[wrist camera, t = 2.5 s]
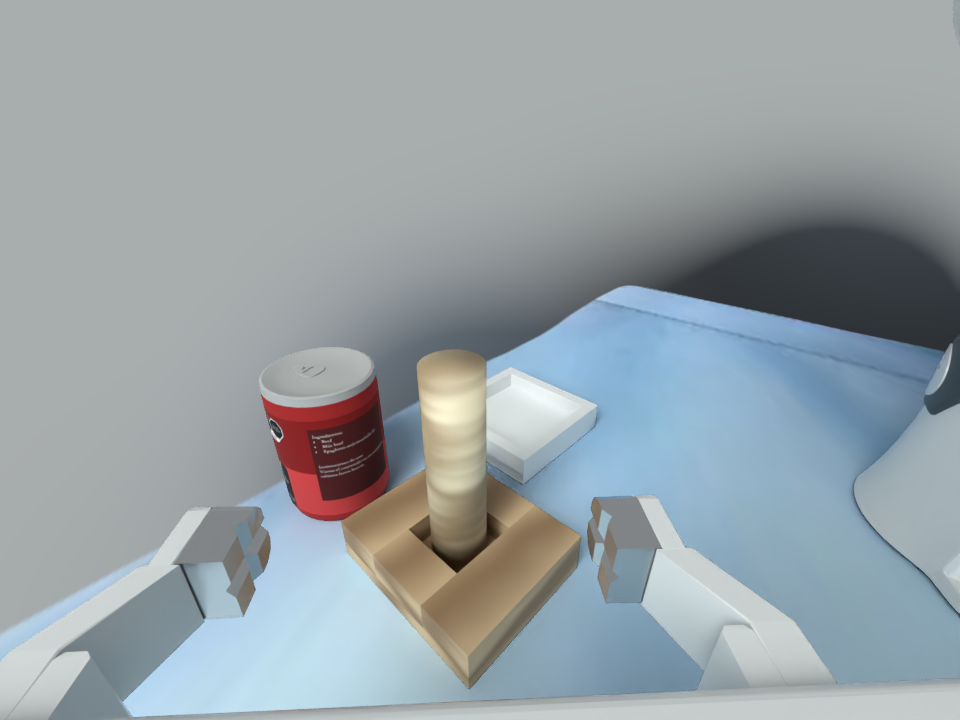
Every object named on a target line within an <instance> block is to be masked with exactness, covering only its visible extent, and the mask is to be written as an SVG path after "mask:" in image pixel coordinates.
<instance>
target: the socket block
mask: <svg viewBox="0 0 960 720" xmlns="http://www.w3.org/2000/svg"><path fill="white" fill-rule="evenodd" d="M341 524H342V528H343V533H344V538H345V542H346V547H347V552H348V554H349V555H350V556H351V557H352V558H353V559H354V560H355V561H356V563H357V564H358V565H359V566H360V567H361V568H362V569H363V570H364V572H365V573H366V574H367V575H368V576H369V577H370V578H371V579H372V581H373V582H374V583H375V584H376V585H377V586H378V587H379V588H380V590H381V591H382V592H383V593H384V594H385V595H386V596H387V597H388V599H389V600H390V601H391V602H392V603H393V604H394V605H395V606H396V608H397V609H398V610H399V611H400V612H401V613H402V614H403V615H404V617H405V618H406V619H407V620H408V621H409V622H410V623H411V624H412V626H413V627H414V628H415V629H416V630H417V631H418V632H419V633H420V635H421V636H422V637H423V638H424V639H425V640H426V641H427V642H428V644H429V645H430V646H431V647H432V648H433V649H434V650H435V651H436V653H437V654H438V655H439V656H440V657H441V658H442V659H443V660H444V662H445V663H446V664H447V665H448V666H449V667H450V668H451V669H452V671H453V672H454V673H455V674H456V675H457V676H458V677H459V678H460V680H461V681H462V682H463V683H464V684H465V685H466V686H467V687H468V689H470V688H471V687H472V685H473V684H474V683H475V682H476V681H477V680H478V679H479V678H480V676H481V675H482V674H483V673H484V672H485V671H486V670H487V669H488V667H489V666H490V665H491V664H492V663H493V662H494V661H495V660H496V658H497V657H498V656H499V655H500V654H501V653H502V652H503V650H504V649H505V648H506V647H507V646H508V645H509V644H510V643H511V641H512V640H513V639H514V638H515V637H516V636H517V635H518V634H519V632H520V631H521V630H522V629H523V628H524V627H525V626H526V625H527V623H528V622H529V621H530V620H531V619H532V618H533V617H534V615H535V614H536V613H537V612H538V611H539V610H540V609H541V608H542V606H543V605H544V604H545V603H546V602H547V601H548V600H549V599H550V597H551V596H552V595H553V594H554V593H555V592H556V591H557V590H558V588H559V587H560V586H561V585H562V584H563V583H564V582H565V581H566V579H567V578H568V577H569V576H570V575H571V574H572V573H573V571H574V570H575V569H576V568H577V563H578V556H579V549H580V542H581V535H579V534H578V533H576V532H575V531H573V530H572V529H570V528H569V527H567V526H566V525H564V524H563V523H561V522H560V521H558V520H556V519H555V518H553V517H552V516H550V515H549V514H547V513H546V512H544V511H543V510H541V509H540V508H538V507H537V506H535V505H534V504H532V503H531V502H529V501H528V500H526V499H525V498H523V497H522V496H520V495H519V494H517V493H516V492H514V491H513V490H511V489H510V488H508V487H507V486H505V485H504V484H502V483H501V482H499V481H498V480H496V479H495V478H493V477H492V476H490V475H489V474H487V548H486V549H484V550H483V551H482V552H481V553H480V554H479V555H478V556H476V557H475V558H474V559H473V560H472V561H471V562H470V563H469V564H467V565H466V566H465V567H464V568H463V569H462V570H461V571H459V572H458V573H456V572H454V571H453V570H452V569H451V568H450V567H449V566H448V565H447V564H446V563H445V562H444V561H442V560H441V559H440V558H439V557H438V556H437V555H436V554H435V553H434V552H433V551H432V541H431V529H430V517H429V505H428V493H427V482H426V470H425V469H424V470H422V471H421V472H419V473H417V474H416V475H414V476H413V477H411V478H409V479H408V480H406V481H405V482H403V483H402V484H400V485H398V486H397V487H395V488H394V489H392V490H390V491H389V492H387V493H386V494H384V495H382V496H381V497H379V498H378V499H376V500H375V501H373V502H371V503H370V504H368V505H367V506H365V507H363V508H362V509H360V510H359V511H357V512H356V513H354V514H352V515H351V516H349V517H348V518H346V519H344V520H343V521H341Z"/></svg>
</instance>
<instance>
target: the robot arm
mask: <svg viewBox="0 0 960 720" xmlns="http://www.w3.org/2000/svg"><path fill="white" fill-rule="evenodd" d="M953 23H954V28H955V34H956V37H957V40H958V42H959V45H960V0H954V3H953ZM925 394H926V395H925V398H924V402H925V405H924V406H923V408H922V409H921V410H920V412H919V413H918V415H917V416H916V417H915V419H914V420H913V421H912V422H911V424H910V425H909V426H908V427H907V429H906V430H905V431H904V432H903V434H902V435H901V436H900V437H899V438H898V440H897V441H896V442H895V443H894V444H893V445H892V446H891V447H890V448H889V449H888V450H887V451H886V452H885V453H884V454H883V455H882V456H881V457H880V458H879V459H878V460H877V461H876V462H875V463H874V464H873V465H871V466H870V467H869V468H867V469H866V470H865V471H864V472H862V473H861V474H860V475H859V476H858V477H857V479H856V481H855V484H854V495H855V499H856V501H857V504H858V506H859V508H860V510H861V511H862V513H863V515H864V516H865V517H866V519H867V520H868V521H869V523H870V524H871V525H872V526H873V527H874V529H875V530H876V531H877V532H878V533H879V534H880V535H881V536H882V537H883V538H884V539H885V540H886V541H887V542H888V543H889V544H891V545H892V546H893V547H894V548H895V549H896V550H897V551H899V552H900V553H901V554H902V555H904V556H905V557H906V558H907V559H909V560H910V561H911V562H912V563H914V564H915V565H916V566H917V567H918V568H919V569H921V570H922V571H923V572H924V573H925V574H926V575H927V576H928V577H929V578H930V579H931V580H932V581H933V583H934V584H935V585H936V587H937V588H938V589H939V591H940V592H941V593H942V594H943V596H944V597H945V598H946V599H947V601H948V602H949V603H950V604H951V605H952V606H953V608H954V609H955V610H956V611H957V612H958V613H959V614H960V333H959V334H958V336H957V338H956V339H955V341H954V343H953V344H950V345H949V347H948V349H947V350H946V352H945V354H944V356H943V357H942V359H941V361H940V363H939V365H938V366H937V368H936V370H935V372H934V374H933V376H932V378H931V380H930V382H929V384H928V386H927V388H926V391H925ZM591 511H592V514H593V516H594V517H593V518H592V519H591V520H590V521H589V523H588V531H587V535H588V546H589V551H590V555H591V558H592V561H593V562H594V563H595V564H596V565H597V566H598V567H599V573H598V580H599V583H600V587H601V590H602V593H603V596H604V599H605V602H606V603H642V606H643V607H644V608H645V609H646V610H647V611H648V612H649V613H650V614H651V615H652V616H653V618H654V619H655V620H656V621H657V622H658V623H659V624H660V625H661V626H662V627H663V628H664V629H665V630H666V631H667V632H668V633H669V635H670V636H671V637H672V638H673V639H674V640H675V641H676V642H677V643H678V644H679V645H680V646H681V647H682V648H683V649H684V650H685V652H686V653H687V654H688V655H689V656H690V657H691V658H692V659H693V660H694V661H695V662H696V663H697V664H698V665H699V666H700V667H701V669H702V670H703V671H704V674H703V676H702V679H701V681H700V683H699V686H698V688H697V690H696V691H675V692H654V693H632V694H611V695H590V696H569V697H548V698H527V699H506V700H485V701H464V702H442V703H422V704H401V705H380V706H359V707H339V708H318V709H297V710H276V711H254V712H233V713H212V714H190V715H169V716H148V717H132V715H131V714H130V712H129V711H128V709H127V708H126V706H125V705H124V704H123V701H124V700H125V699H126V698H127V697H128V696H129V695H130V694H131V693H132V692H133V691H134V690H135V689H136V688H137V687H138V686H139V685H140V684H141V683H142V682H143V681H144V680H145V679H146V678H147V677H148V676H149V675H150V674H151V673H152V672H153V671H155V670H156V669H157V668H158V667H159V666H160V665H161V664H162V663H163V662H164V661H165V660H166V659H167V658H168V657H169V656H170V655H171V654H172V653H173V652H174V651H175V650H176V649H177V648H178V647H179V646H180V645H181V644H182V643H183V642H184V641H185V640H186V639H187V638H188V637H189V636H190V635H191V634H192V633H194V632H195V631H196V630H197V629H198V628H199V627H200V626H201V625H202V624H203V623H204V620H205V619H220V618H235V617H244V614H245V612H246V610H247V608H248V606H249V603H250V601H251V599H252V597H253V594H254V592H255V590H256V589H255V586H254V583H253V581H254V580H255V579H256V578H257V577H258V576H260V575H261V574H262V573H263V572H264V570H265V567H266V565H267V563H268V559H269V554H270V549H271V546H270V536H269V533H268V531H267V530H266V529H264V528H263V527H262V526H261V523H262V521H263V519H264V516H263V513H262V510H261V508H259V507H193V508H192V509H190V510H188V511H187V512H186V513H185V515H184V516H183V517H182V519H181V520H180V522H179V523H178V524H177V526H176V527H175V528H174V530H173V531H172V533H171V534H170V535H169V537H168V538H167V539H166V541H165V542H164V543H163V545H162V546H161V548H160V549H159V550H158V552H157V553H156V554H155V556H154V557H153V559H152V560H151V561H150V563H149V564H148V565H147V566H140V567H138V568H137V569H135V570H134V571H132V572H131V573H129V574H128V575H126V576H124V577H123V578H121V579H120V580H118V581H117V582H115V583H114V584H112V585H111V586H109V587H108V588H106V589H105V590H103V591H102V592H100V593H98V594H97V595H95V596H94V597H92V598H91V599H89V600H88V601H86V602H85V603H83V604H82V605H80V606H79V607H77V608H76V609H74V610H72V611H71V612H69V613H68V614H66V615H65V616H63V617H62V618H60V619H59V620H57V621H56V622H54V623H53V624H51V625H49V626H48V627H46V628H45V629H43V630H42V631H40V632H39V633H37V634H36V635H34V636H33V637H31V638H30V639H28V640H27V641H25V642H23V643H22V644H20V645H19V646H17V647H16V648H14V649H13V650H11V651H10V652H9V653H8V654H7V655H6V656H5V657H4V658H3V659H2V661H1V662H0V720H960V678H949V679H928V680H907V681H886V682H865V683H844V684H838V683H837V682H836V681H835V679H834V678H833V676H832V675H831V673H830V672H829V670H828V669H827V668H826V666H825V665H824V663H823V662H822V660H821V659H820V657H819V656H818V655H817V653H816V652H815V650H814V649H813V647H812V646H811V644H810V643H809V642H808V640H807V639H806V637H805V636H804V634H803V633H802V631H801V630H800V629H799V627H798V626H797V624H796V623H795V621H793V620H792V619H791V618H789V617H788V616H786V615H785V614H784V613H782V612H781V611H779V610H778V609H777V608H775V607H774V606H772V605H771V604H770V603H768V602H767V601H765V600H764V599H763V598H761V597H760V596H758V595H757V594H756V593H754V592H753V591H751V590H750V589H749V588H747V587H746V586H744V585H743V584H742V583H740V582H739V581H737V580H736V579H735V578H733V577H732V576H730V575H729V574H728V573H726V572H725V571H723V570H722V569H721V568H719V567H718V566H716V565H715V564H714V563H712V562H711V561H709V560H708V559H707V558H705V557H704V556H702V555H701V554H700V553H698V552H697V551H695V550H694V549H693V548H686V547H685V546H684V544H683V542H682V540H681V538H680V537H679V535H678V533H677V531H676V530H675V528H674V526H673V524H672V522H671V521H670V519H669V517H668V515H667V514H666V512H665V510H664V508H663V506H662V505H661V503H660V501H659V499H658V498H657V497H656V496H655V495H637V496H612V497H594V499H593V501H592V505H591Z"/></svg>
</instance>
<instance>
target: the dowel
mask: <svg viewBox="0 0 960 720" xmlns="http://www.w3.org/2000/svg"><path fill="white" fill-rule="evenodd" d="M417 375H418V387H419V399H420V411H421V422H422V434H423V446H424V458H425V470H426V482H427V493H428V505H429V517H430V529H431V541H432V551H433V552H434V553H435V554H436V555H437V556H438V557H439V558H440V559H441V560H442V561H444V562H445V563H446V564H447V565H448V566H449V567H450V568H451V569H452V570H453V571H454V572H456V573H458V572H459V571H461V570H462V569H463V568H464V567H465V566H466V565H467V564H469V563H470V562H471V561H472V560H473V559H474V558H475V557H476V556H478V555H479V554H480V553H481V552H482V551H483V550H484V549H486V548H487V441H486V361H485V360H484V358H482V357H481V356H480V355H478V354H476V353H473V352H470V351H465V350H443V351H438V352H434V353H431V354H429V355H427V356H425V357H423V358H422V359H421V360H420V361H419V362H418V364H417Z"/></svg>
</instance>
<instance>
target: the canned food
mask: <svg viewBox="0 0 960 720" xmlns="http://www.w3.org/2000/svg"><path fill="white" fill-rule="evenodd" d="M259 385H260V393H261V396H262V400H263V404H264V408H265V412H266V415H267V419H268V422H269V426H270V429H271V433H272V436H273V440H274V443H275V447H276V450H277V453H278V457H279V461H280V464H281V468H282V471H283V474H284V478H285V481H286V485H287V488H288V492H289V495H290V498H291V500H292V502H293V503H294V504H295V505H296V507H297V508H298V509H299V510H300V511H301V512H302V513H303V514H305V515H307V516H308V517H311V518H314V519H317V520H324V521H336V520H342V519H346V518H348V517H349V516H351V515H352V514H354V513H356V512H357V511H359V510H360V509H362V508H363V507H365V506H367V505H368V504H370V503H371V502H373V501H375V500H376V499H378V498H379V497H381V496H382V495H383V494H384V492H385V490H386V487H387V483H388V479H389V468H388V461H387V453H386V445H385V437H384V430H383V422H382V415H381V406H380V399H379V391H378V383H377V378H376V371H375V367H374V363H373V361H372V359H371V358H370V357H369V356H368V355H366V354H364V353H363V352H360V351H357V350H354V349H348V348H338V347H324V348H315V349H309V350H304V351H300V352H296V353H293V354H290V355H287V356H285V357H283V358H281V359H278V360H277V361H275V362H274V363H272V364H270V365H269V366H268V367H267V368H266V369H264V371H263V372H262V373H261V375H260V378H259Z"/></svg>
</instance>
